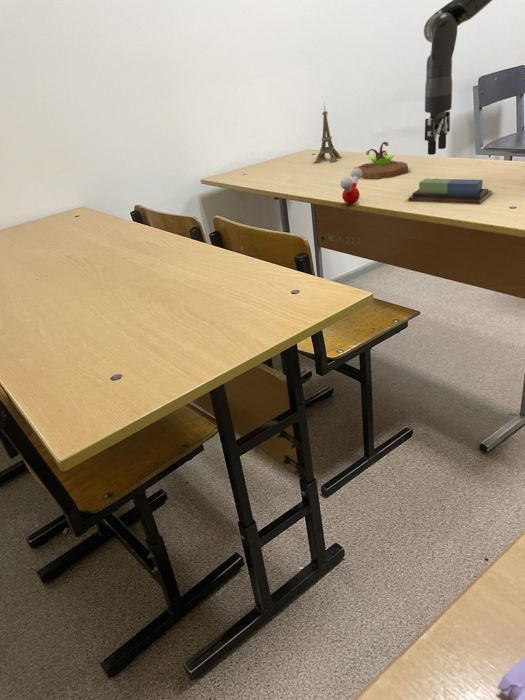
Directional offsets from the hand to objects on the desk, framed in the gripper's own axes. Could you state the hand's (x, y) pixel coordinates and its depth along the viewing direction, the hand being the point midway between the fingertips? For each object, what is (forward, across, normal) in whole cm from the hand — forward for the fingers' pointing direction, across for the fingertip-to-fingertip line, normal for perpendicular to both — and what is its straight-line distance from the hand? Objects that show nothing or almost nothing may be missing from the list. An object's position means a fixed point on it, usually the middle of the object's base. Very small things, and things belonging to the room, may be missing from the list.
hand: (437, 151), depth 162 cm
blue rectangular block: (+13, 0, -9) cm, 16 cm away
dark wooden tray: (+14, 0, -4) cm, 15 cm away
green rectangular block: (+13, 0, 0) cm, 13 cm away
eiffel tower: (+14, +55, +72) cm, 91 cm away
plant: (+14, +32, +34) cm, 48 cm away
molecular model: (+14, -12, +24) cm, 30 cm away
